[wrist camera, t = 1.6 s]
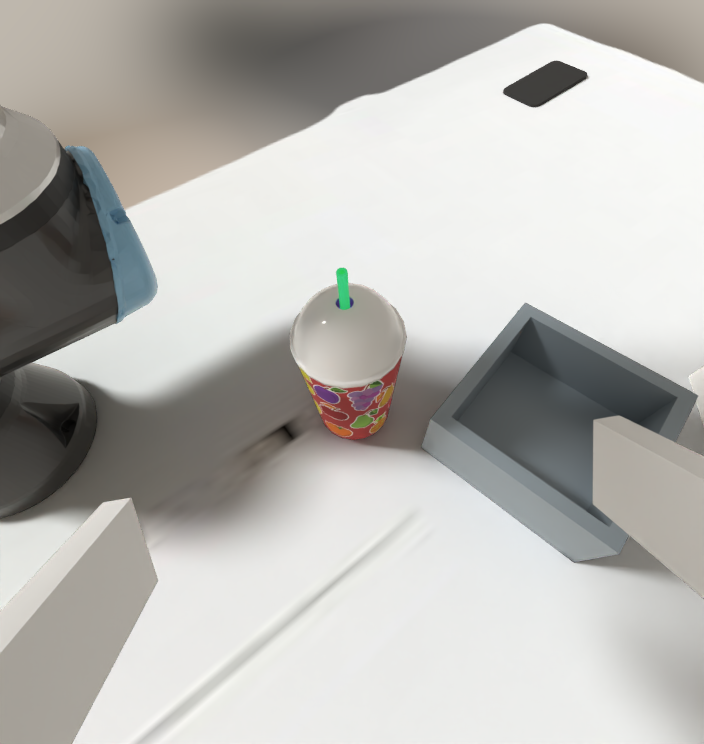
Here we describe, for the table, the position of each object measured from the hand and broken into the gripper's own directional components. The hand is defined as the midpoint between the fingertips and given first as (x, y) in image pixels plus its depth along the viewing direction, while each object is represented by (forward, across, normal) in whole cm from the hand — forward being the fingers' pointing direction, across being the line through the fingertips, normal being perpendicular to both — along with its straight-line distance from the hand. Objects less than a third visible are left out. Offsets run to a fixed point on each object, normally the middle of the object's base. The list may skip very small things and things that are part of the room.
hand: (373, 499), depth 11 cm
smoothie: (+28, +1, -8) cm, 29 cm away
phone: (+68, +44, +32) cm, 87 cm away
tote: (+24, +17, -12) cm, 32 cm away
